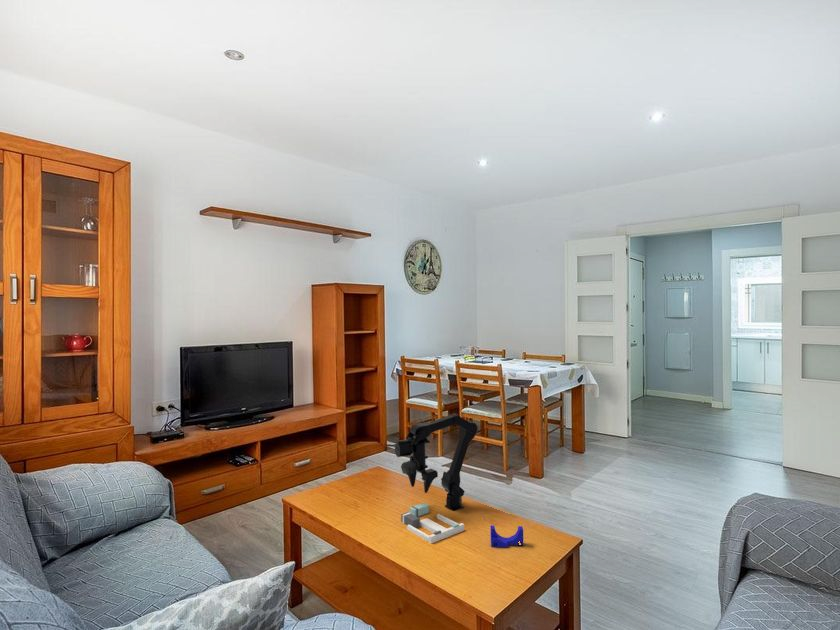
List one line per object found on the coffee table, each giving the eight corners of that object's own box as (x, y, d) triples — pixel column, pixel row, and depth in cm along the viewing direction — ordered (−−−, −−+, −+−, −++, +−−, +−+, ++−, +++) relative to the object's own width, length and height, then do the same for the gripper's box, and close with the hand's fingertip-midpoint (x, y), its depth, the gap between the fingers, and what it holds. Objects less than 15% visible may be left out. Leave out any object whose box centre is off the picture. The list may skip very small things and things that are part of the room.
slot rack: (439, 517, 201) (439, 510, 201) (464, 530, 189) (464, 522, 189) (406, 529, 191) (406, 521, 191) (431, 543, 179) (431, 535, 179)
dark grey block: (408, 520, 199) (408, 511, 199) (419, 526, 193) (419, 518, 193) (401, 522, 197) (401, 513, 197) (412, 529, 191) (412, 520, 191)
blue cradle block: (491, 546, 176) (491, 530, 176) (490, 541, 181) (490, 525, 181) (523, 547, 175) (523, 531, 175) (522, 542, 180) (522, 526, 180)
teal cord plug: (409, 515, 204) (409, 507, 204) (423, 510, 209) (423, 502, 209) (414, 518, 201) (414, 509, 201) (429, 513, 206) (428, 505, 206)
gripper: (391, 452, 207) (391, 488, 207) (417, 462, 193) (418, 500, 193) (411, 447, 214) (411, 482, 214) (438, 457, 199) (438, 494, 200)
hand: (419, 489), depth 205 cm, fingers open, 9 cm apart
